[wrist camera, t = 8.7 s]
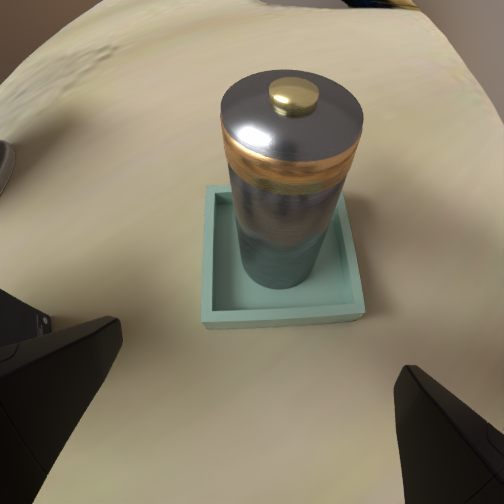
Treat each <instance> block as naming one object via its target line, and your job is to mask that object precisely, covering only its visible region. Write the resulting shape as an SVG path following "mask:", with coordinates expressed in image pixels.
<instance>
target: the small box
mask: <svg viewBox="0 0 504 504" xmlns="http://www.w3.org/2000/svg"><path fill="white" fill-rule="evenodd" d="M49 333H51V326H50V317H49V315H47V314H45V313H43V312H41V311H39V310H37V309H35V308H33V307H31V306H30V305H28V304H26V303H24V302H22V301H20V300H19V299H17V298H15V297H13V296H12V295H10V294H8V293H7V292H5V291H3V290H2V289H0V348H1V347H5V346H9V345H12V344H15V343H20V342H22V341H26V340H29V339H33V338H36V337H39V336H43V335H46V334H49Z"/></svg>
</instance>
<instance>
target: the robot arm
mask: <svg viewBox="0 0 504 504" xmlns="http://www.w3.org/2000/svg"><path fill="white" fill-rule="evenodd" d="M122 342H123V338H122V330H121V322H120V320H119V319H118V318H116V317H112V316H105V317H102V318H98V319H95V320H92V321H89V322H85V323H82V324H79V325H76V326H72V327H69V328H66V329H62V330H59V331H56V332H53V333H49V334H46V335H43V336H39V337H36V338H33V339H29V340H26V341H22V342H20V343H15V344H12V345H9V346H5V347H1V348H0V504H32V503H33V502H34V500H35V498H36V496H37V494H38V492H39V490H40V489H41V487H42V485H43V483H44V481H45V479H46V478H47V475H48V474H49V472H50V470H51V468H52V467H53V465H54V463H55V461H56V459H57V458H58V456H59V454H60V453H61V451H62V449H63V447H64V446H65V444H66V442H67V441H68V439H69V437H70V436H71V434H72V432H73V431H74V429H75V427H76V426H77V424H78V422H79V421H80V419H81V417H82V416H83V414H84V412H85V411H86V409H87V408H88V406H89V404H90V403H91V401H92V400H93V398H94V396H95V395H96V393H97V392H98V390H99V388H100V387H101V385H102V384H103V382H104V380H105V378H106V376H107V375H108V372H109V370H110V368H111V366H112V364H113V362H114V360H115V358H116V356H117V354H118V352H119V350H120V348H121V346H122ZM394 405H395V422H396V434H397V441H398V447H399V454H400V462H401V470H402V478H403V487H404V498H405V504H504V434H502V433H501V432H500V431H498V430H497V429H496V428H495V427H493V426H492V425H491V424H490V423H487V421H486V420H485V419H483V418H482V417H481V416H480V415H478V414H477V413H476V412H475V411H473V410H472V409H471V408H470V407H468V406H467V405H466V404H465V403H463V402H462V401H461V400H460V399H458V398H457V397H456V396H455V395H453V394H452V393H451V392H450V391H448V390H447V389H446V388H445V387H443V386H442V385H441V384H440V383H438V382H437V381H436V380H435V379H433V378H432V377H431V376H429V375H428V374H427V373H426V372H424V371H423V370H422V369H421V368H419V367H418V366H416V365H405V366H404V367H403V368H402V370H401V372H400V374H399V376H398V379H397V381H396V383H395V385H394Z"/></svg>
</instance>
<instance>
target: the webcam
mask: <svg viewBox="0 0 504 504" xmlns="http://www.w3.org/2000/svg"><path fill="white" fill-rule="evenodd" d="M14 163H15V152H14V150H13V148H12V147H11V146H10V145H9V144H8V143H7V142H6V141H3V140H0V194H1V192H2V191H3V189H4V187H5V185H6V184H7V182H8V180H9V177H10V175H11V173H12V171H13V167H14Z"/></svg>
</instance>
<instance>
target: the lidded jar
mask: <svg viewBox="0 0 504 504" xmlns="http://www.w3.org/2000/svg"><path fill="white" fill-rule="evenodd" d="M220 118H221V126H222V134H223V141H224V149H225V155H226V158H227V161H228V168H229V176H230V183H231V191H232V198H233V205H234V213H235V220H236V227H237V234H238V242H239V249H240V256H241V262H242V266H243V268H244V270H245V272H246V273H247V275H248V276H249V277H250V278H251V279H252V280H253V281H254V282H256V283H257V284H259V285H261V286H263V287H266V288H269V289H276V290H283V289H289V288H292V287H295V286H297V285H299V284H300V283H302V282H303V281H304V280H305V279H306V278H307V277H308V276H309V275H310V273H311V272H312V270H313V268H314V265H315V262H316V260H317V257H318V254H319V252H320V249H321V247H322V244H323V241H324V238H325V236H326V233H327V230H328V228H329V225H330V222H331V219H332V216H333V214H334V211H335V208H336V205H337V202H338V199H339V197H340V194H341V191H342V188H343V185H344V182H345V179H346V176H347V173H348V172H349V170H350V168H351V165H352V162H353V159H354V156H355V153H356V150H357V146H358V143H359V140H360V137H361V133H362V125H363V111H362V108H361V106H360V104H359V102H358V101H357V99H356V98H355V97H354V96H353V95H352V94H351V93H350V92H349V91H348V90H347V89H345V88H344V87H343V86H341V85H340V84H338V83H336V82H334V81H332V80H330V79H328V78H326V77H323V76H320V75H317V74H314V73H309V72H304V71H298V70H271V71H264V72H259V73H256V74H253V75H250V76H247V77H245V78H243V79H241V80H239V81H238V82H236V83H235V84H233V85H232V86H231V87H230V88H229V89H228V90H227V91H226V93H225V94H224V96H223V98H222V101H221V115H220Z"/></svg>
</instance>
